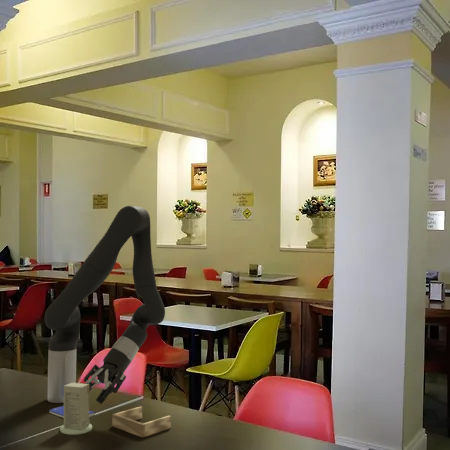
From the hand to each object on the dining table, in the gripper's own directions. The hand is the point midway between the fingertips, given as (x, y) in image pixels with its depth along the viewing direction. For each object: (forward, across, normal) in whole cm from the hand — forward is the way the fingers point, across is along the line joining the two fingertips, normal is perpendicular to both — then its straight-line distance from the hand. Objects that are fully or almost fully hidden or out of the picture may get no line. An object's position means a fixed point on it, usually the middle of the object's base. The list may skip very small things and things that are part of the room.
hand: (89, 399), depth 165 cm
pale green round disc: (+9, 0, +2) cm, 9 cm away
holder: (-2, +12, +13) cm, 18 cm away
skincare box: (+8, 0, +2) cm, 9 cm away
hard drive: (+4, -13, +8) cm, 16 cm away
